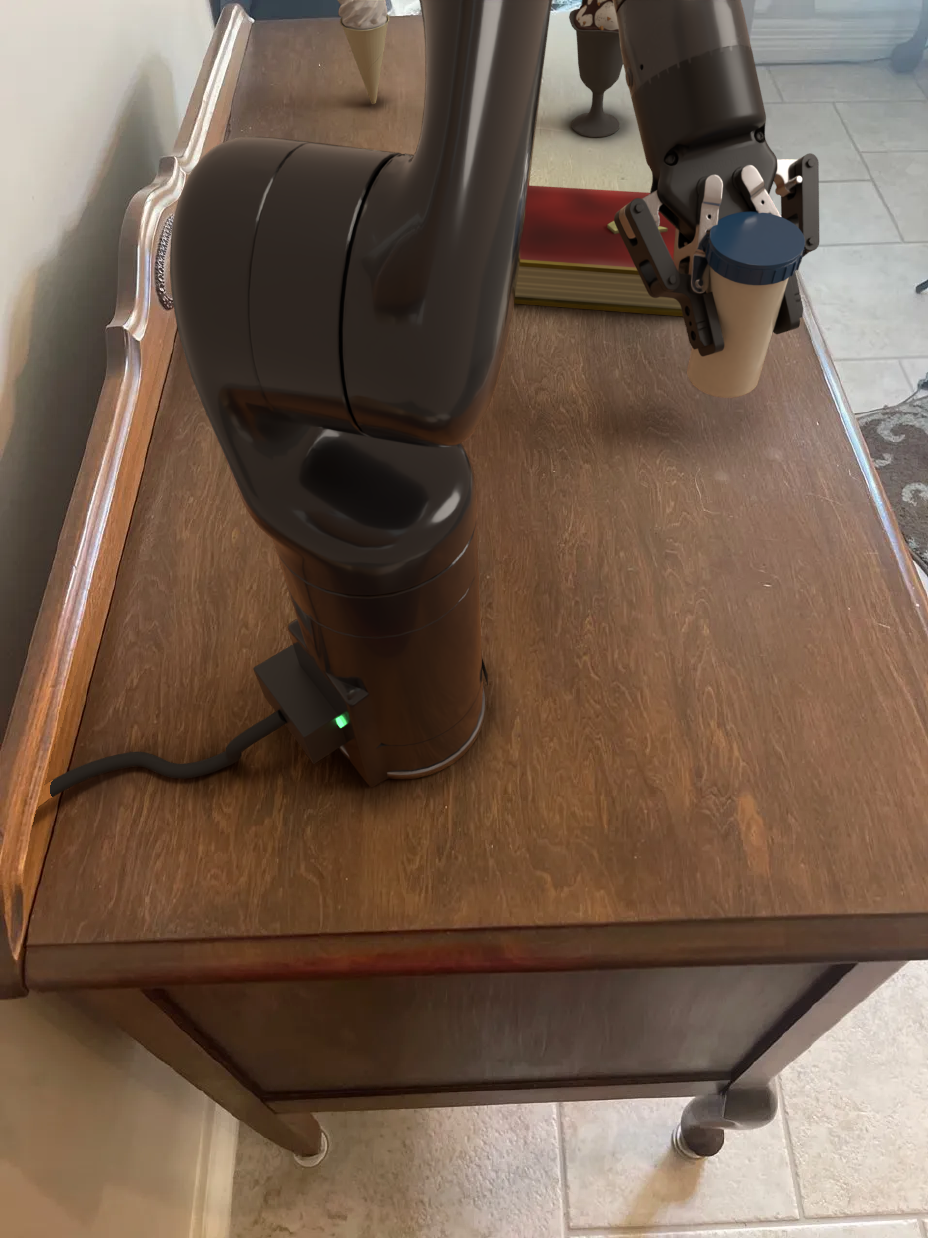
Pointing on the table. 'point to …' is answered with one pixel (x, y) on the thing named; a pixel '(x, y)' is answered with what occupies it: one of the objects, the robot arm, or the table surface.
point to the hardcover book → (584, 253)
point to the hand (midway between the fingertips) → (750, 340)
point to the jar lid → (755, 248)
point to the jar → (737, 337)
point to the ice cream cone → (366, 37)
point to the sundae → (597, 62)
